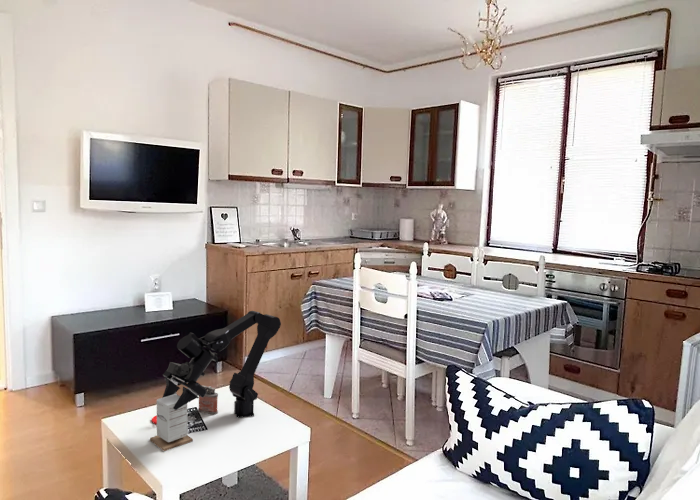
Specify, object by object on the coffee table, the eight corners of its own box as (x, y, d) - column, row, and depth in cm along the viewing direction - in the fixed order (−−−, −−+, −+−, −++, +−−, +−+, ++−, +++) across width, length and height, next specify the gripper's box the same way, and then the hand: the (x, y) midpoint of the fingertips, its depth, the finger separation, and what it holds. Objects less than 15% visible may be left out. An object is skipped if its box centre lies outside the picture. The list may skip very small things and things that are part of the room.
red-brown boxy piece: (219, 412, 188) (220, 386, 187) (214, 415, 185) (214, 389, 184) (201, 408, 191) (201, 383, 190) (196, 411, 188) (196, 386, 187)
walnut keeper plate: (178, 430, 172) (178, 428, 172) (192, 441, 165) (192, 438, 165) (149, 440, 165) (149, 437, 165) (164, 451, 158) (164, 449, 158)
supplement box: (156, 435, 165) (155, 399, 163) (176, 428, 170) (176, 392, 169) (167, 443, 160) (167, 405, 159) (188, 435, 165) (188, 398, 164)
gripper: (167, 346, 171) (137, 386, 164) (198, 359, 159) (166, 402, 152) (188, 363, 178) (159, 402, 171) (219, 376, 166) (189, 418, 159)
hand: (168, 405), depth 163 cm, fingers closed on supplement box, 7 cm apart
